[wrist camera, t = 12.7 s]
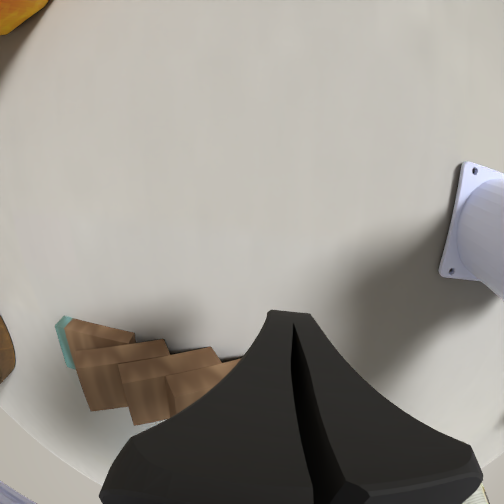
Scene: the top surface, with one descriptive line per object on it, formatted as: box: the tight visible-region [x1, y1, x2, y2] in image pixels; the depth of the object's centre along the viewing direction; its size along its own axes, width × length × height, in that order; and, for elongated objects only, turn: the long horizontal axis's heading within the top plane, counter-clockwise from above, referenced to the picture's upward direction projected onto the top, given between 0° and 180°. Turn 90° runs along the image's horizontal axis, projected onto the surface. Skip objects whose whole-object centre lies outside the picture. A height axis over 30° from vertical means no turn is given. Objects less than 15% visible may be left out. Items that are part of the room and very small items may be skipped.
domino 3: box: [118, 347, 222, 426], centre depth 21 cm, size 2×5×7 cm
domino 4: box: [165, 358, 241, 418], centre depth 20 cm, size 2×5×7 cm
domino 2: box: [75, 339, 170, 411], centre depth 21 cm, size 2×5×7 cm
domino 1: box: [55, 316, 136, 369], centre depth 23 cm, size 2×5×7 cm
